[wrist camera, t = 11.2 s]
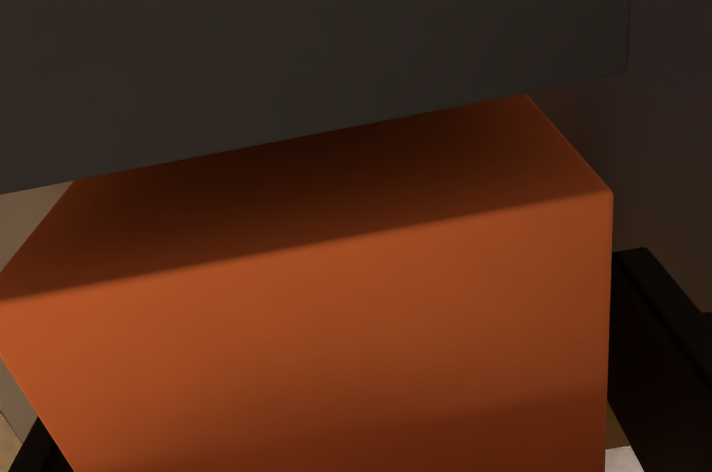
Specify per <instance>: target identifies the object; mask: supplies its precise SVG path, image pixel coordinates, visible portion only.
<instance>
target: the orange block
mask: <svg viewBox="0 0 712 472" xmlns="http://www.w3.org/2000/svg"><path fill="white" fill-rule="evenodd" d="M613 198H614V195H613V193H612V191H611V189H610V188H609V187H608V186H607V185H606V183H605V182H604V181H603V180H602V179H601V178H600V177H599V176H598V174H597V173H596V172H595V171H594V170H593V169H592V168H591V166H590V165H589V164H588V163H587V162H586V161H585V160H584V159H583V157H582V156H581V155H580V154H579V153H578V152H577V151H576V149H575V148H574V147H573V146H572V145H571V144H570V143H569V142H568V140H567V139H566V138H565V137H564V136H563V135H562V134H561V132H560V131H559V130H558V129H557V128H556V127H555V126H554V125H553V123H552V122H551V121H550V120H549V119H548V118H547V117H546V116H545V114H544V113H543V112H542V111H541V110H540V109H539V108H538V106H537V105H536V104H535V103H534V102H533V101H532V100H531V99H530V97H529V96H528V95H527V94H526V93H525V94H520V95H515V96H510V97H504V98H499V99H494V100H489V101H484V102H479V103H473V104H468V105H463V106H458V107H453V108H447V109H442V110H437V111H432V112H427V113H422V114H416V115H411V116H406V117H401V118H396V119H390V120H385V121H380V122H375V123H370V124H365V125H359V126H354V127H349V128H344V129H339V130H333V131H328V132H323V133H318V134H313V135H307V136H302V137H297V138H292V139H287V140H282V141H276V142H271V143H266V144H261V145H256V146H250V147H245V148H240V149H235V150H230V151H225V152H219V153H214V154H209V155H204V156H199V157H193V158H188V159H183V160H178V161H173V162H168V163H162V164H157V165H152V166H147V167H142V168H136V169H131V170H126V171H121V172H116V173H111V174H105V175H100V176H95V177H90V178H85V179H79V180H74V181H73V182H72V184H71V185H70V186H69V187H68V189H67V190H66V191H65V192H64V194H63V195H62V196H61V197H60V199H59V200H58V201H57V202H56V204H55V205H54V206H53V207H52V208H51V210H50V211H49V212H48V213H47V215H46V216H45V217H44V218H43V220H42V221H41V222H40V223H39V225H38V226H37V227H36V228H35V229H34V231H33V232H32V233H31V234H30V236H29V237H28V238H27V239H26V241H25V242H24V243H23V244H22V246H21V247H20V248H19V249H18V251H17V252H16V253H15V254H14V255H13V257H12V258H11V259H10V260H9V262H8V263H7V264H6V265H5V267H4V268H3V269H2V270H1V272H0V357H1V359H2V361H3V362H4V364H5V365H6V367H7V368H8V370H9V371H10V373H11V375H12V376H13V378H14V379H15V381H16V382H17V384H18V385H19V387H20V388H21V390H22V392H23V393H24V395H25V396H26V398H27V399H28V401H29V402H30V404H31V405H32V407H33V409H34V410H35V412H36V413H37V415H38V416H39V418H40V419H41V421H42V423H43V424H44V426H45V427H46V429H47V430H48V432H49V433H50V435H51V436H52V438H53V440H54V441H55V443H56V444H57V446H58V447H59V449H60V450H61V452H62V454H63V455H64V457H65V458H66V460H67V461H68V463H69V464H70V466H71V467H72V469H73V471H74V472H605V443H606V413H607V382H608V351H609V321H610V290H611V259H612V229H613Z"/></svg>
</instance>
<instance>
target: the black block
mask: <svg viewBox="0 0 712 472" xmlns="http://www.w3.org/2000/svg"><path fill="white" fill-rule="evenodd" d="M630 11H631V0H0V195H2V194H7V193H12V192H17V191H22V190H28V189H33V188H38V187H43V186H48V185H53V184H59V183H64V182H69V181H74V180H79V179H85V178H90V177H95V176H100V175H105V174H111V173H116V172H121V171H126V170H131V169H136V168H142V167H147V166H152V165H157V164H162V163H168V162H173V161H178V160H183V159H188V158H193V157H199V156H204V155H209V154H214V153H219V152H225V151H230V150H235V149H240V148H245V147H250V146H256V145H261V144H266V143H271V142H276V141H282V140H287V139H292V138H297V137H302V136H307V135H313V134H318V133H323V132H328V131H333V130H339V129H344V128H349V127H354V126H359V125H365V124H370V123H375V122H380V121H385V120H390V119H396V118H401V117H406V116H411V115H416V114H422V113H427V112H432V111H437V110H442V109H447V108H453V107H458V106H463V105H468V104H473V103H479V102H484V101H489V100H494V99H499V98H504V97H510V96H515V95H520V94H525V93H530V92H536V91H541V90H546V89H551V88H556V87H561V86H567V85H572V84H577V83H582V82H587V81H593V80H598V79H603V78H608V77H613V76H618V75H623V74H625V73H627V70H628V60H629V36H630Z"/></svg>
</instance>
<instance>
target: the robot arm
mask: <svg viewBox="0 0 712 472" xmlns="http://www.w3.org/2000/svg"><path fill="white" fill-rule="evenodd" d="M607 401H608V403H609V405H610V407H611V409H612V411H613V413H614V415H615V417H616V418H617V420H618V422H619V424H620V426H621V428H622V430H623V432H624V434H625V436H626V438H627V440H628V441H629V443H630V445H631V447H632V449H633V451H634V453H635V455H636V457H637V459H638V461H639V462H640V464H641V466H642V468H643V470H644V472H712V313H711V312H703V313H702V312H701V311H700V310H699V309H698V308H697V306H696V305H695V304H694V303H693V302H692V300H691V299H690V298H689V297H688V296H687V294H686V293H685V292H684V291H683V290H682V288H681V287H680V286H679V285H678V284H677V282H676V281H675V280H674V279H673V278H672V277H671V275H670V274H669V273H668V272H667V271H666V269H665V268H664V267H663V266H662V265H661V263H660V262H659V261H658V260H657V259H656V257H655V256H654V255H653V254H652V253H651V251H650V250H649V249H647V248H646V247H639V248H634V249H628V250H622V251H616V252H612V259H611V290H610V321H609V351H608V382H607ZM8 472H74V471H73V469H72V467H71V466H70V464H69V463H68V461H67V460H66V458H65V457H64V455H63V454H62V452H61V450H60V449H59V447H58V446H57V444H56V443H55V441H54V440H53V438H52V436H51V435H50V433H49V432H48V430H47V429H46V427H45V426H44V424H43V423H42V421H41V419H40V418H39V416H37V418H36V420H35V422H34V424H33V426H32V428H31V429H30V431H29V433H28V435H27V437H26V439H25V441H24V443H23V445H22V446H21V448H20V450H19V452H18V454H17V456H16V458H15V460H14V462H13V463H12V465H11V467H10V469H9V471H8Z"/></svg>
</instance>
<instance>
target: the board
mask: <svg viewBox="0 0 712 472" xmlns="http://www.w3.org/2000/svg"><path fill="white" fill-rule="evenodd" d="M526 94H527V95H528V96H529V97H530V99H531V100H532V101H533V102H534V103H535V104H536V105H537V106H538V108H539V109H540V110H541V111H542V112H543V113H544V114H545V116H546V117H547V118H548V119H549V120H550V121H551V122H552V123H553V125H554V126H555V127H556V128H557V129H558V130H559V131H560V132H561V134H562V135H563V136H564V137H565V138H566V139H567V140H568V142H569V143H570V144H571V145H572V146H573V147H574V148H575V149H576V151H577V152H578V153H579V154H580V155H581V156H582V157H583V159H584V160H585V161H586V162H587V163H588V164H589V165H590V166H591V168H592V169H593V170H594V171H595V172H596V173H597V174H598V176H599V177H600V178H601V179H602V180H603V181H604V182H605V183H606V185H607V186H608V187H609V188H610V189H611V191H612V193H613V195H614V198H613V229H612V252H616V251H622V250H628V249H634V248H639V247H646V248H647V249H649V250H650V251H651V253H652V254H653V255H654V256H655V257H656V259H657V260H658V261H659V262H660V263H661V265H662V266H663V267H664V268H665V269H666V271H667V272H668V273H669V274H670V275H671V277H672V278H673V279H674V280H675V281H676V282H677V284H678V285H679V286H680V287H681V288H682V290H683V291H684V292H685V293H686V294H687V296H688V297H689V298H690V299H691V300H692V302H693V303H694V304H695V305H696V306H697V308H698V309H699V310H700V311H701V312H702V313H703V312H711V313H712V0H631V11H630V36H629V60H628V70H627V73H625V74H623V75H618V76H613V77H608V78H603V79H598V80H593V81H587V82H582V83H577V84H572V85H567V86H561V87H556V88H551V89H546V90H541V91H536V92H530V93H526ZM72 182H73V181H69V182H64V183H59V184H53V185H48V186H43V187H38V188H33V189H28V190H22V191H17V192H12V193H7V194H2V195H0V272H1V270H2V269H3V268H4V267H5V265H6V264H7V263H8V262H9V260H10V259H11V258H12V257H13V255H14V254H15V253H16V252H17V251H18V249H19V248H20V247H21V246H22V244H23V243H24V242H25V241H26V239H27V238H28V237H29V236H30V234H31V233H32V232H33V231H34V229H35V228H36V227H37V226H38V225H39V223H40V222H41V221H42V220H43V218H44V217H45V216H46V215H47V213H48V212H49V211H50V210H51V208H52V207H53V206H54V205H55V204H56V202H57V201H58V200H59V199H60V197H61V196H62V195H63V194H64V192H65V191H66V190H67V189H68V187H69V186H70V185H71V184H72ZM0 412H1V413H2V415H3V416H4V418H5V419H6V421H7V422H8V423H9V425H10V426H11V428H12V429H13V431H14V432H15V434H16V435H17V437H18V438H19V439H20V441H21V442H22V444H23V443H24V441H25V439H26V437H27V435H28V433H29V431H30V429H31V428H32V426H33V424H34V422H35V420H36V418H37V416H38V415H37V413H36V412H35V410H34V409H33V407H32V405H31V404H30V402H29V401H28V399H27V398H26V396H25V395H24V393H23V392H22V390H21V388H20V387H19V385H18V384H17V382H16V381H15V379H14V378H13V376H12V375H11V373H10V371H9V370H8V368H7V367H6V365H5V364H4V362H3V361H2V359H1V357H0ZM624 446H631V445H630V443H629V441H628V440H627V438H626V436H625V434H624V432H623V430H622V428H621V426H620V424H619V422H618V420H617V418H616V417H615V415H614V413H613V411H612V409H611V407H610V405H609V403H608V401H607V413H606V443H605V449H611V448H618V447H624Z"/></svg>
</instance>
